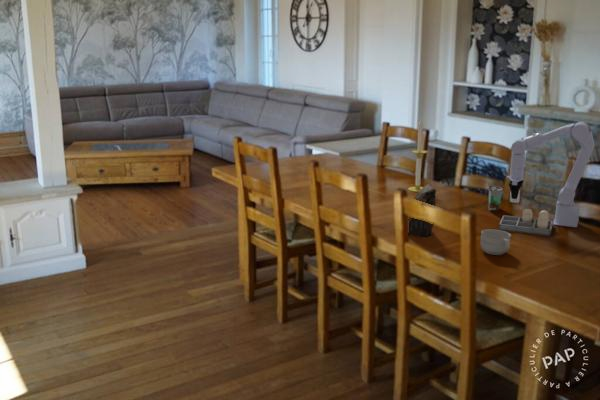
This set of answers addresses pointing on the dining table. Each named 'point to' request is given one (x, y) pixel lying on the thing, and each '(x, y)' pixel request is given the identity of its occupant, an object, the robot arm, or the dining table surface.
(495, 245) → the teacup
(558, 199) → the robot arm
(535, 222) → the carton
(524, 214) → the seated eggs
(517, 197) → the white egg-shaped capsule
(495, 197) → the food container
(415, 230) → the owl
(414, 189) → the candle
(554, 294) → the dining table surface
